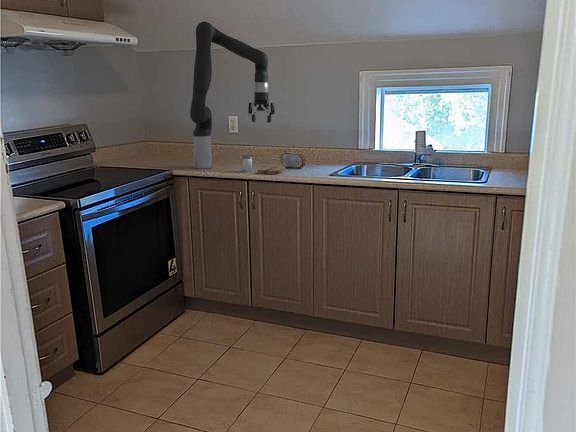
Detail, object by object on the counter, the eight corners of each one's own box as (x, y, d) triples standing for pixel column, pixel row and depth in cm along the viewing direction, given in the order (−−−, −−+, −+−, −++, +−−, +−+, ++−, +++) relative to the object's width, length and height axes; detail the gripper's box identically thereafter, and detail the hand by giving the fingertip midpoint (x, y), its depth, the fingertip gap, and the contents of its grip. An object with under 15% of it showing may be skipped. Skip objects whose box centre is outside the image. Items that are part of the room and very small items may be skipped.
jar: (241, 171, 279) (241, 156, 277) (244, 170, 283) (244, 155, 281) (250, 172, 277) (250, 156, 276) (253, 170, 282) (253, 155, 280)
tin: (305, 168, 289) (305, 152, 287) (302, 169, 286) (302, 153, 284) (282, 166, 297) (282, 151, 295) (279, 167, 294) (279, 151, 292)
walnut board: (257, 173, 272) (257, 169, 271) (265, 169, 285) (265, 165, 285) (278, 174, 269) (278, 170, 269) (285, 170, 282) (285, 166, 282)
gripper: (246, 91, 283) (246, 122, 287) (271, 91, 278) (271, 123, 282) (251, 91, 290) (252, 121, 294) (276, 91, 285) (276, 122, 289)
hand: (261, 122), depth 288 cm, fingers open, 8 cm apart
